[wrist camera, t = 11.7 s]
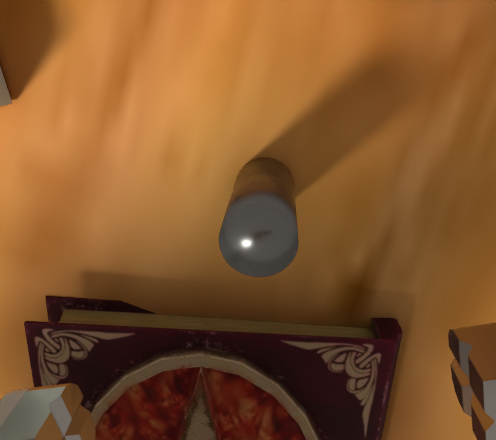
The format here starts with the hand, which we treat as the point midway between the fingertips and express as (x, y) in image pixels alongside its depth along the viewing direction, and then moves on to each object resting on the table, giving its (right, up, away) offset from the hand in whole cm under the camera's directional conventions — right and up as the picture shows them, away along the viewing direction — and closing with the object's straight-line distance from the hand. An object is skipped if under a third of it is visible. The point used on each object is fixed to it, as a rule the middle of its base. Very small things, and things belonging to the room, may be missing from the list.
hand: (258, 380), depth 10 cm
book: (-3, -14, +23) cm, 27 cm away
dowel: (+1, +5, +14) cm, 15 cm away
